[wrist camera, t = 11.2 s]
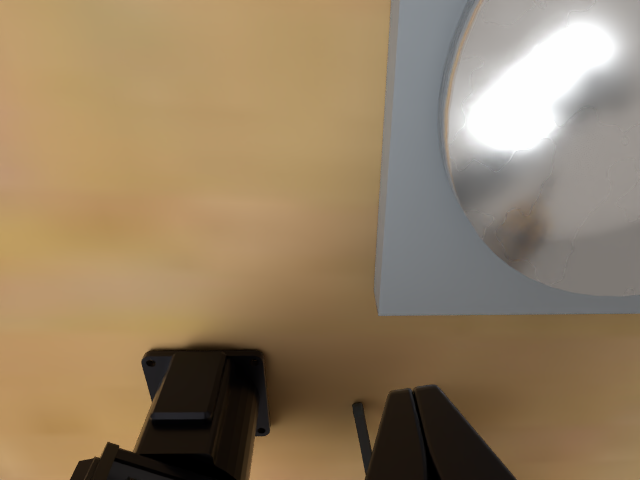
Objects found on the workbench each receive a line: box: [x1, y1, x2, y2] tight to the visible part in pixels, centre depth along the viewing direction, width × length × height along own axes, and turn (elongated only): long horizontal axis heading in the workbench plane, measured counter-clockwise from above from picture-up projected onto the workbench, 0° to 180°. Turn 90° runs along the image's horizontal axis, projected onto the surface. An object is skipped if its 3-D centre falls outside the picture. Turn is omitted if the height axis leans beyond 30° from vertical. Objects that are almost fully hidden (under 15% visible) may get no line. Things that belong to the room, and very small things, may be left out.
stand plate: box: [374, 0, 640, 316], centre depth 17 cm, size 20×18×2 cm
